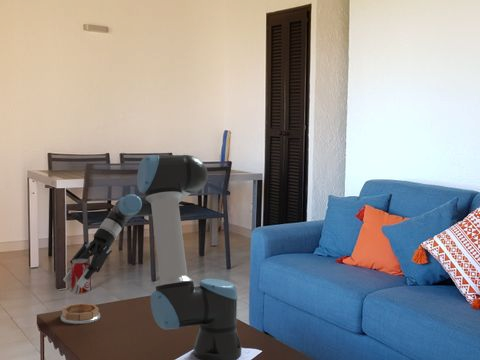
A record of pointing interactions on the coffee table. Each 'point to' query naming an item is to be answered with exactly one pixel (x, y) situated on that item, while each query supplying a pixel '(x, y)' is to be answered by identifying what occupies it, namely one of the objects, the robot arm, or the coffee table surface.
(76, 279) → the soda can
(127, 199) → the robot arm
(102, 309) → the coffee table surface
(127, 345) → the coffee table surface
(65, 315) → the round wooden tray
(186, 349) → the coffee table surface
